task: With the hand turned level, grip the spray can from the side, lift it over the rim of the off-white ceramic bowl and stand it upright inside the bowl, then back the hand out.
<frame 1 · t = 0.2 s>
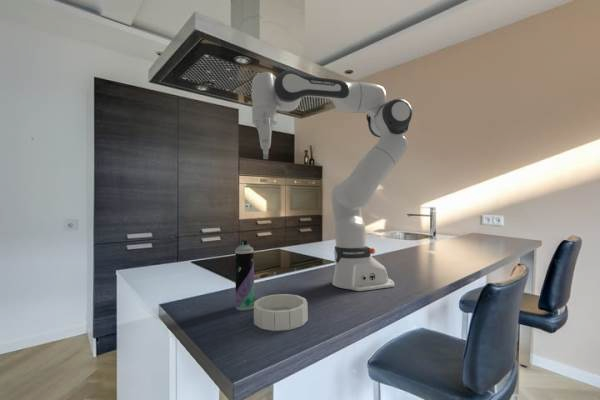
hand: (265, 156, 108), 48 cm above the counter, tool pointing down, fingers open, 8 cm apart
spray can: (245, 307, 89), on the counter
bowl: (280, 319, 79), on the counter
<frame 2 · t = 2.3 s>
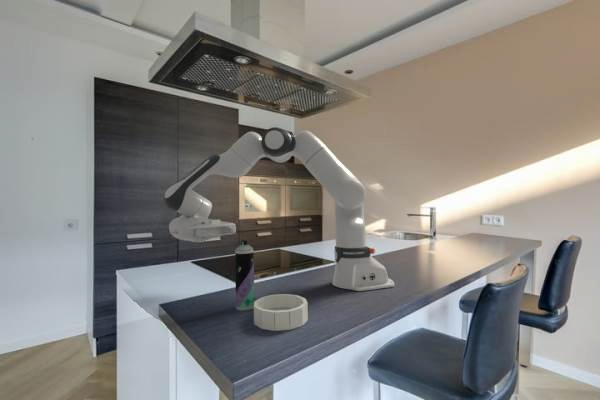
hand: (220, 231, 97), 22 cm above the counter, tool horizontal, fingers open, 8 cm apart
nothing on the counter moved.
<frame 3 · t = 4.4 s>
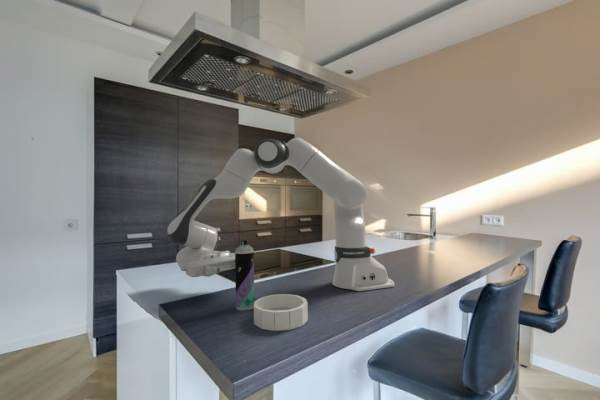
hand: (230, 267, 94), 11 cm above the counter, tool horizontal, fingers open, 8 cm apart
nothing on the counter moved.
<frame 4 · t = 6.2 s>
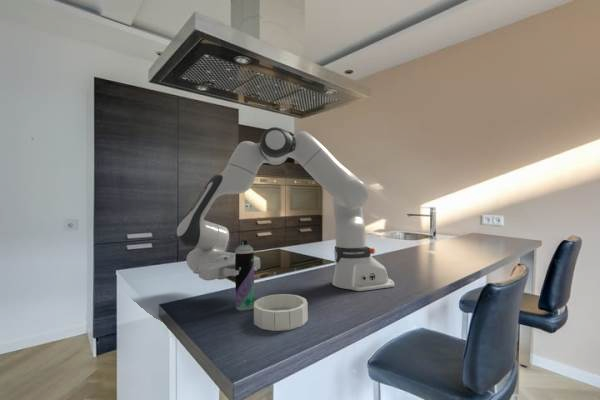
hand: (246, 270, 88), 11 cm above the counter, tool horizontal, fingers closed on spray can, 5 cm apart
spray can: (245, 307, 89), on the counter, touching gripper
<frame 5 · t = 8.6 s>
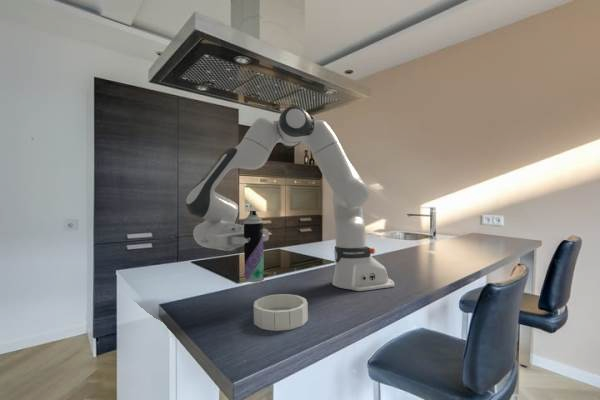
hand: (255, 239, 86), 21 cm above the counter, tool horizontal, fingers closed on spray can, 5 cm apart
spray can: (254, 280, 86), point 9 cm above the counter, touching gripper
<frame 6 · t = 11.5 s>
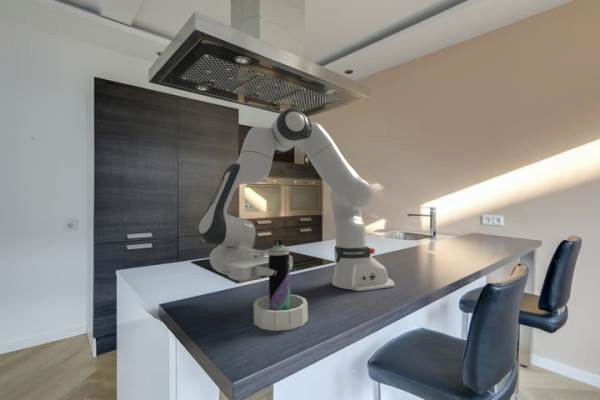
hand: (281, 269, 78), 13 cm above the counter, tool horizontal, fingers closed on spray can, 5 cm apart
spray can: (280, 316, 79), point 1 cm above the counter, touching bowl, gripper
when the fingers open (13 cm above the counter, at t = 11.8 s): spray can stays where it is, resting on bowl.
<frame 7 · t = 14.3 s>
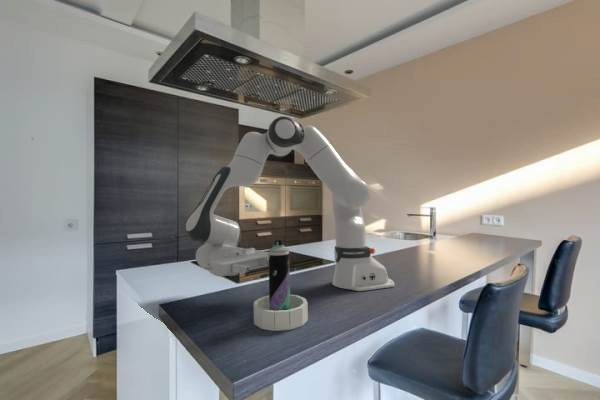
hand: (260, 266, 84), 13 cm above the counter, tool horizontal, fingers open, 8 cm apart
spray can: (280, 316, 79), point 1 cm above the counter, touching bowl
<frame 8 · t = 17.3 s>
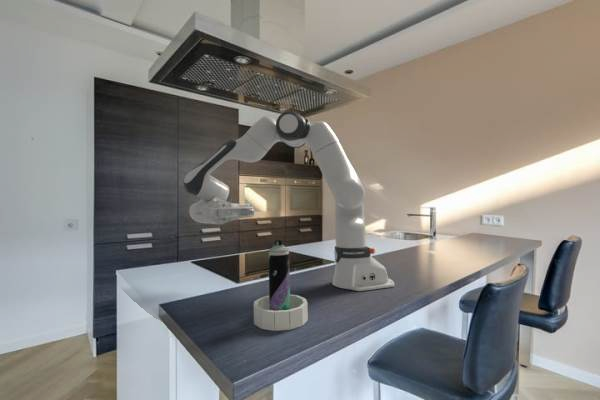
hand: (241, 212, 101), 28 cm above the counter, tool horizontal, fingers open, 8 cm apart
nothing on the counter moved.
at the end: spray can inside the target area on the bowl (0.2 cm from its centre), point 0.8 cm above the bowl's base; spray can tilted 0°; the gripper is holding nothing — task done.
